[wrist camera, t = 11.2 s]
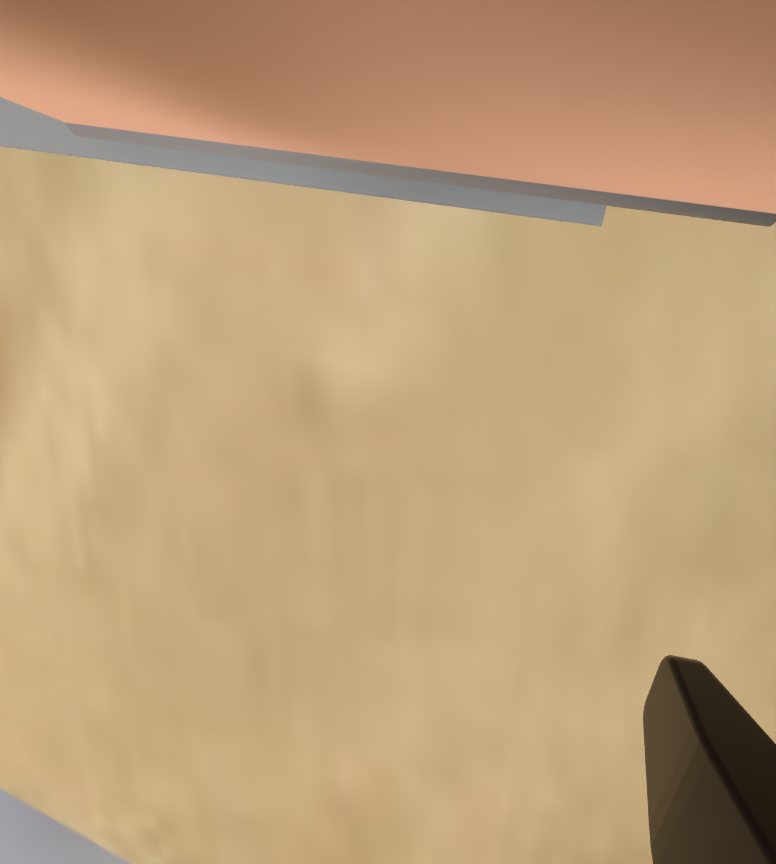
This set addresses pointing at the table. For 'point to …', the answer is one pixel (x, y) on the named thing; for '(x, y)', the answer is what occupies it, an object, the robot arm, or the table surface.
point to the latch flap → (429, 90)
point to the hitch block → (277, 170)
